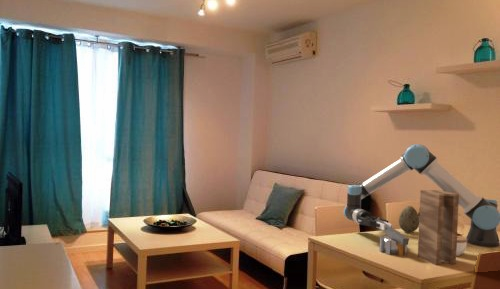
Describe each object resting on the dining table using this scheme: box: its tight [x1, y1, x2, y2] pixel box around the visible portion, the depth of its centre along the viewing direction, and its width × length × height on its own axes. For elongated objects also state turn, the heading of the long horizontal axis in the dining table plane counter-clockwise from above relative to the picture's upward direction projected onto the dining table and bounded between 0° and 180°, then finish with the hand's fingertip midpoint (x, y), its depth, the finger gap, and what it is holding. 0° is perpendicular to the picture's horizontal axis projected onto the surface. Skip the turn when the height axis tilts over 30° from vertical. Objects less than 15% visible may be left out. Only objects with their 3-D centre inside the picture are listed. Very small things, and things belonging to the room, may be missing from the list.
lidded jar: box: [456, 235, 468, 257], centre depth 196 cm, size 11×11×9 cm
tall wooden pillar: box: [417, 189, 459, 266], centre depth 185 cm, size 10×12×30 cm
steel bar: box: [374, 218, 410, 246], centre depth 199 cm, size 3×24×3 cm, turn 15°
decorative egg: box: [398, 205, 419, 234], centre depth 238 cm, size 11×11×15 cm
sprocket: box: [379, 235, 408, 256], centre depth 197 cm, size 12×12×6 cm
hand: (388, 227), depth 201 cm, fingers closed on steel bar, 3 cm apart
